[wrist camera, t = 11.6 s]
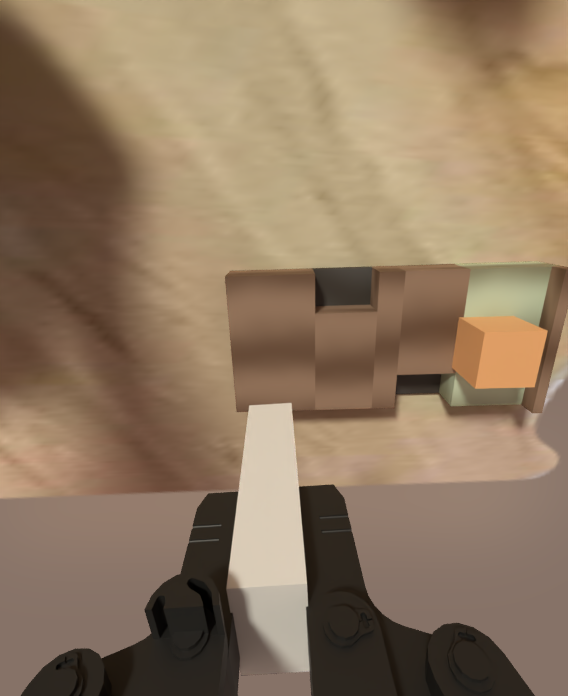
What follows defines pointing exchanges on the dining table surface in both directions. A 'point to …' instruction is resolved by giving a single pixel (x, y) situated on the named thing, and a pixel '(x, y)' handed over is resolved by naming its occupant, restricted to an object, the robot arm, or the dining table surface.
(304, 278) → the board
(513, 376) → the block
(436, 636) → the robot arm
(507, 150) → the dining table surface
